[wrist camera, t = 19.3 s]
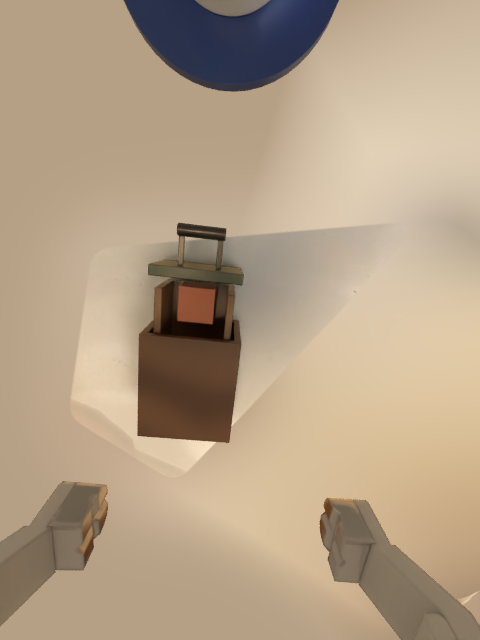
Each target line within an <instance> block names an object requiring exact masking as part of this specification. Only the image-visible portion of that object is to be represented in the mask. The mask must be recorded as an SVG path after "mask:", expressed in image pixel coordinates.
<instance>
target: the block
mask: <svg viewBox="0 0 480 640" xmlns="http://www.w3.org/2000/svg"><path fill="white" fill-rule="evenodd" d="M216 294H217V284H210V283H200V282H190V281H184V282H183V283H182V284H181V285H180V286H179V292H178V313H177V321H183V322H194V323H205V324H213V320H214V316H215V306H216Z"/></svg>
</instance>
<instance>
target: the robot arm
mask: <svg viewBox="0 0 480 640" xmlns="http://www.w3.org/2000/svg"><path fill="white" fill-rule="evenodd" d="M195 1H196V2H197V3H198V4H199V5H201V6H202V7H204V8H205V9H207V10H209V11H211V12H213V13H215V14H219V15H222V16H229V17H236V16H243V15H247V14H250V13H252V12H255V11H257V10H258V9H260V8H262V7H263V6H264V5H266V4H267V3H268V2H269V1H270V0H195ZM106 495H107V485H102V484H91V483H80V482H66V481H63V482H62V483H60V484H59V485H58V487H57V488H56V489H55V491H54V492H53V493H52V495H51V496H50V498H49V499H48V500H47V502H46V503H45V505H44V506H43V507H42V509H41V510H40V511H39V513H38V514H37V516H36V517H35V518H34V520H33V521H32V523H31V524H30V525H29V526H23V527H22V528H21V529H19V530H18V531H16V532H15V533H13V534H12V535H10V536H9V537H7V538H6V539H4V540H3V541H1V542H0V626H1V625H2V624H3V623H4V622H5V621H6V620H7V619H8V618H9V617H10V616H11V615H12V614H13V613H14V612H15V611H16V610H17V609H18V608H19V607H21V606H22V605H23V604H24V603H25V602H26V601H27V600H28V598H29V597H30V596H32V595H33V594H34V593H35V592H36V591H37V590H38V589H39V588H40V587H41V586H42V585H43V584H44V583H45V582H46V581H47V580H48V579H49V578H50V577H51V576H52V575H53V574H54V573H55V570H84V568H85V566H86V563H87V561H88V559H89V557H90V555H91V552H92V550H93V547H94V546H93V539H95V538H96V537H97V536H98V535H99V534H100V533H101V530H102V528H103V526H104V522H105V519H106V516H107V510H108V502H107V501H106V500H105V497H106ZM324 508H325V512H324V513H323V514H322V515H321V520H320V533H321V538H322V542H323V545H324V546H325V547H326V549H327V550H328V551H329V552H330V553H329V556H328V562H329V565H330V568H331V571H332V574H333V578H334V581H338V582H350V583H359V586H360V587H361V588H362V589H363V591H364V592H365V593H366V595H367V596H368V597H369V599H370V600H371V601H372V602H373V604H374V605H375V606H376V608H377V609H378V610H379V611H380V613H381V614H382V615H383V617H384V618H385V619H386V621H387V622H388V623H389V624H390V626H391V627H392V629H394V631H395V632H396V634H397V635H398V636H399V638H400V639H401V640H480V626H479V624H478V622H477V621H476V619H475V618H474V616H473V615H472V613H471V612H469V611H468V610H467V609H466V608H465V607H464V606H463V605H462V604H461V603H459V602H458V601H457V600H456V599H455V598H454V597H453V596H451V595H450V594H449V593H448V592H447V591H446V590H445V589H444V588H443V587H441V586H440V585H439V584H438V583H437V582H436V581H435V580H434V579H432V578H431V577H430V576H429V575H428V574H427V573H426V572H425V571H424V570H422V569H421V568H420V567H419V566H418V565H417V564H416V563H415V562H413V561H412V560H411V559H410V558H409V557H408V556H407V555H406V554H404V553H403V552H402V551H401V550H400V549H399V548H398V547H397V546H395V545H391V544H390V542H389V541H388V538H387V537H386V534H385V532H384V531H383V529H382V527H381V525H380V524H379V521H378V520H377V518H376V516H375V514H374V512H373V510H372V509H371V507H370V505H369V503H368V502H367V501H366V500H354V499H353V500H352V499H337V498H327V499H326V500H325V502H324Z"/></svg>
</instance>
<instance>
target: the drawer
mask: <svg viewBox="0 0 480 640" xmlns="http://www.w3.org/2000/svg"><path fill="white" fill-rule="evenodd" d="M177 234H178V235H179V249H178V261H173V260H163V261H159V262H155V263H151V264H149V265H148V275H154V276H163V277H172V278H181V279H190V280H199V281H208V282H218V283H227V284H236V285H242V284H243V276H244V275H243V272H242V269H241V268H235V267H226V266H221V262H222V252H223V241H225V239H226V229H225V228H217V227H208V226H201V225H192V224H184V223H178V225H177ZM185 236H186V237H194V238H203V239H211V240H218V249H217V260H216V265H208V264H199V263H190V262H184V247H185ZM183 282H184V280H174V279H168V280H166V281H165V282H163V283H161V284H160V285H158V286H156V287H155V296H154V329H153V333H156V334H166V335H177V336H187V337H197V338H207V339H218V340H228V341H230V336H231V327H232V318H233V309H234V300H235V290H234V286H230V285H220V284H217V294H216V306H215V316H214V320H213V324H205V323H194V322H183V321H177V313H178V292H179V286H180V285H181V284H182V283H183ZM190 282H193V281H190ZM200 283H202V282H200ZM210 284H211V283H210Z"/></svg>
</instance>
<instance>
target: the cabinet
mask: <svg viewBox="0 0 480 640" xmlns="http://www.w3.org/2000/svg"><path fill="white" fill-rule="evenodd" d="M153 329H154V320H153V321H152V322H151V323H150V324H149V325H148V326H147V327H146V328H145V329H144V330H143V331H142V332H141V333H140V334H139V370H138V436H146V437H159V438H172V439H186V440H199V441H213V442H226V443H229V440H230V431H231V424H232V415H233V407H234V399H235V391H236V383H237V375H238V367H239V358H240V350H241V337H240V326H239V321H233V320H232V327H231V336H230V341H228V340H218V339H207V338H197V337H187V336H177V335H166V334H156V333H153Z"/></svg>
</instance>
